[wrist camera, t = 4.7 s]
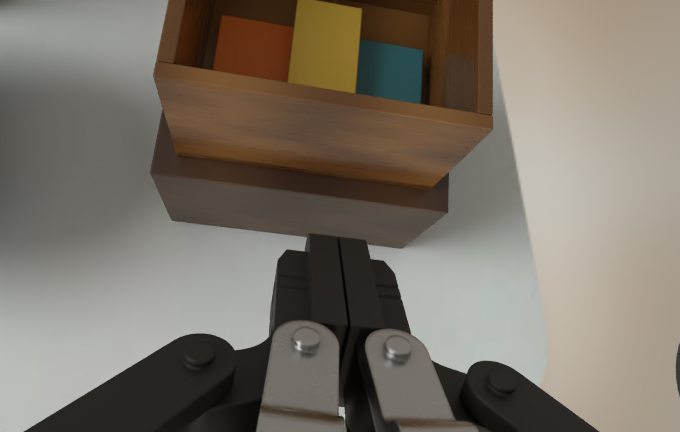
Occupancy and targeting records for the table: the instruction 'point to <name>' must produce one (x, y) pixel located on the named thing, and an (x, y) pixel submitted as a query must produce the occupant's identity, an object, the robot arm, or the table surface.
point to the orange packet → (253, 48)
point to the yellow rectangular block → (325, 45)
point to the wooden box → (332, 94)
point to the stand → (291, 199)
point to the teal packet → (389, 71)
